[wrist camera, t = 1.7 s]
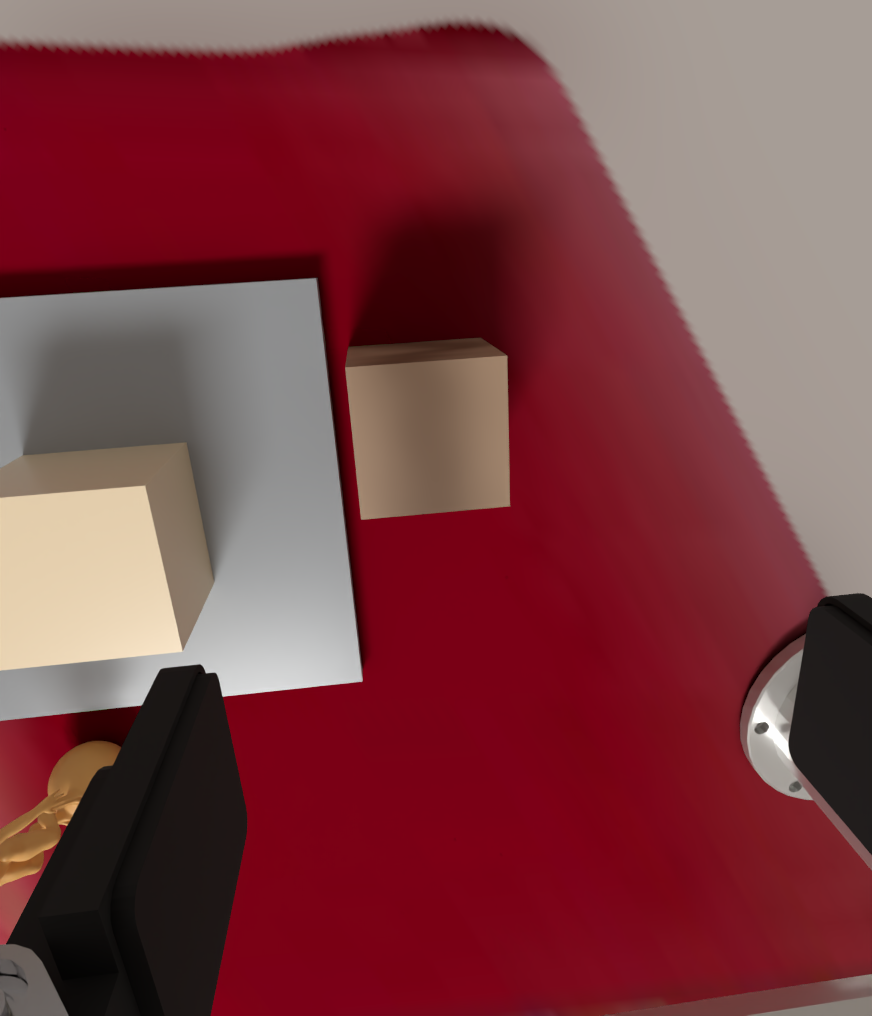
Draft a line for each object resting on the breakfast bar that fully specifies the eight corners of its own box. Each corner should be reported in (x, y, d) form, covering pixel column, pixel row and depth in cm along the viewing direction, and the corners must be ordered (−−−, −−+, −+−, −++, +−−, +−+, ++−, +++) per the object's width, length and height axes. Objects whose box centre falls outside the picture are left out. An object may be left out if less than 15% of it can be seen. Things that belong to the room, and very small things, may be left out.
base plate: (317, 277, 29) (304, 283, 22) (362, 670, 36) (362, 762, 29) (-177, 308, 27) (-348, 325, 21) (-27, 711, 34) (-118, 818, 28)
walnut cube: (480, 337, 30) (507, 355, 25) (484, 463, 32) (509, 506, 27) (348, 346, 30) (345, 367, 24) (361, 473, 32) (361, 519, 26)
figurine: (106, 820, 38) (-2, 1059, 26) (0, 778, 36) (-165, 1014, 25) (176, 715, 36) (91, 925, 24) (67, 666, 34) (-79, 867, 23)
